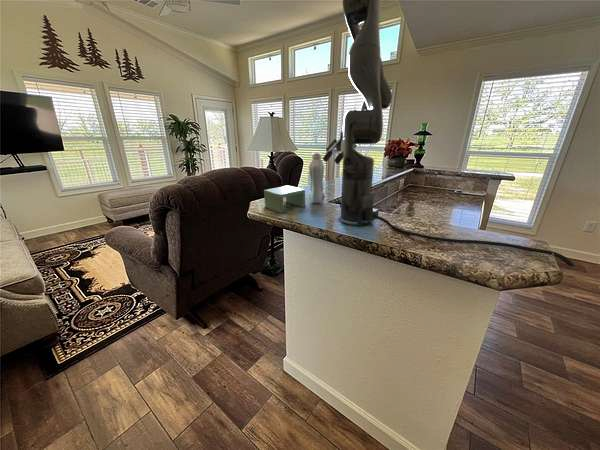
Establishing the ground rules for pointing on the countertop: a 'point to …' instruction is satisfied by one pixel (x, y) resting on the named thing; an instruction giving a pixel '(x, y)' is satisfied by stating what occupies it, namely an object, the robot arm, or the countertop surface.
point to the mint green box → (276, 196)
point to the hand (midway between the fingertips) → (329, 161)
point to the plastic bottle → (316, 179)
